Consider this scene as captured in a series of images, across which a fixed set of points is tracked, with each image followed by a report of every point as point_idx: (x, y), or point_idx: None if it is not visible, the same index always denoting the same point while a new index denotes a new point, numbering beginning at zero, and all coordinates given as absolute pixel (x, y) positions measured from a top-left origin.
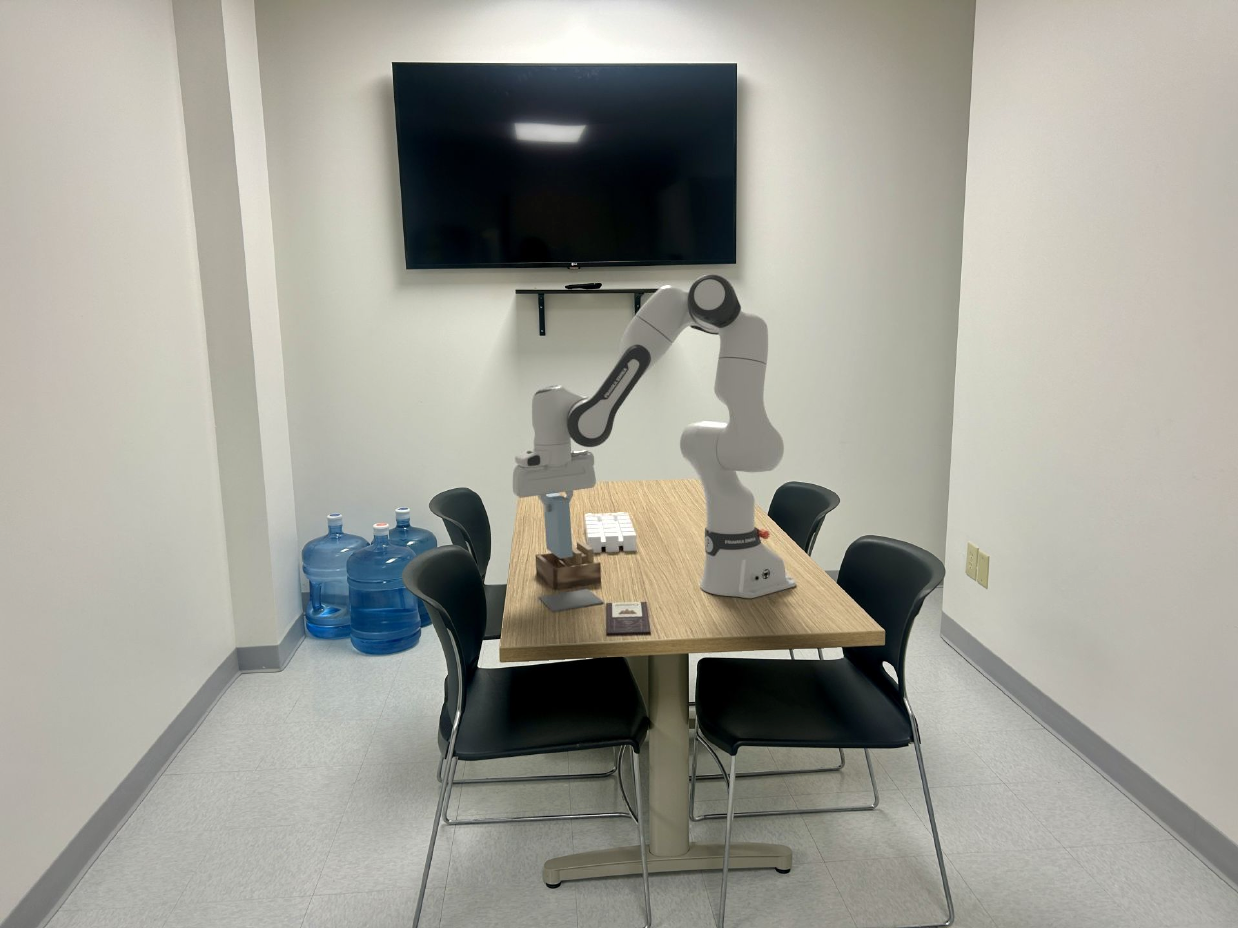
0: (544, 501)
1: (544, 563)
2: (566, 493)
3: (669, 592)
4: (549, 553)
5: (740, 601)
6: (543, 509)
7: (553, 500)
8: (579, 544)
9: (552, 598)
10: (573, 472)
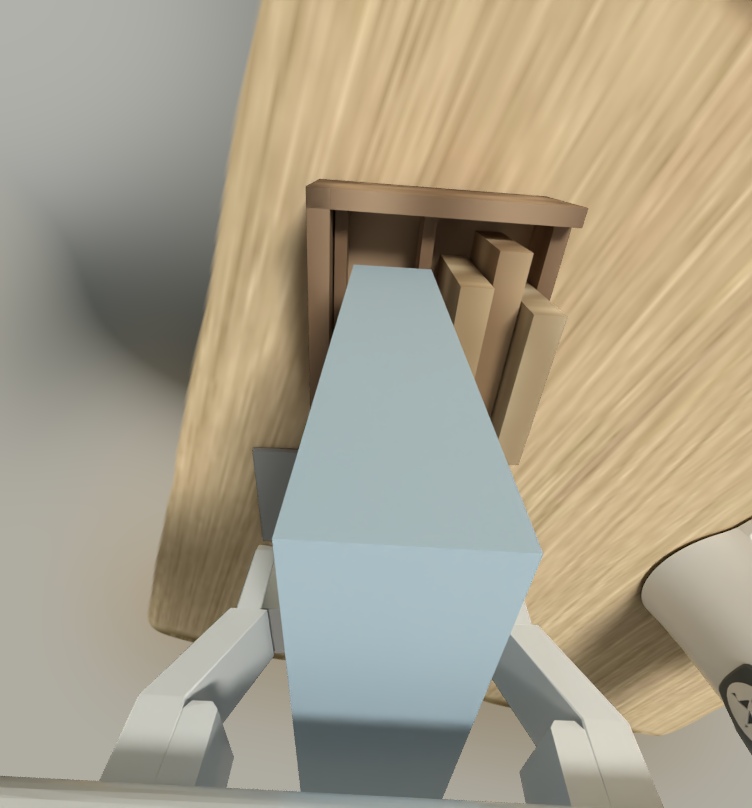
0: (221, 708)
1: (309, 345)
2: (537, 766)
3: (581, 550)
4: (388, 207)
5: (644, 631)
6: (254, 553)
7: (302, 769)
8: (519, 359)
9: (286, 479)
10: None
